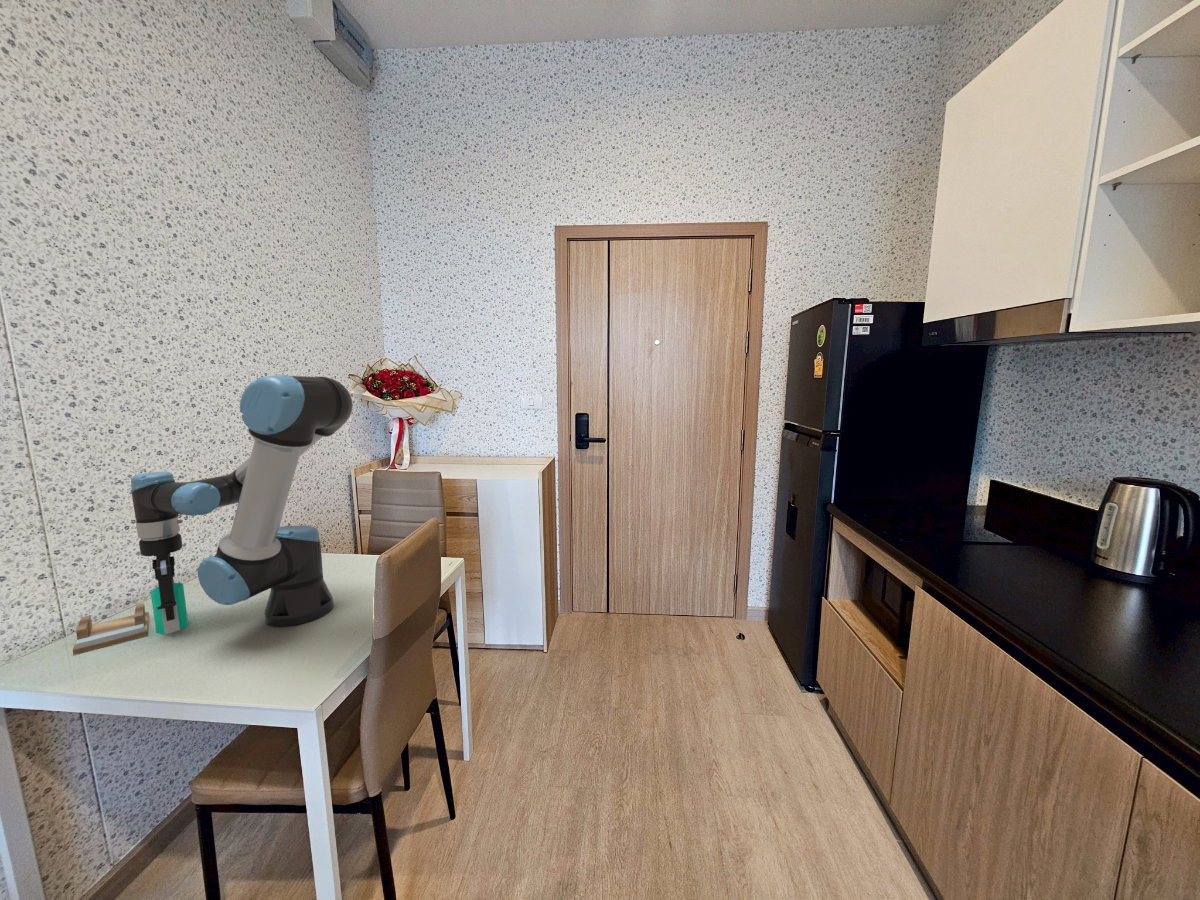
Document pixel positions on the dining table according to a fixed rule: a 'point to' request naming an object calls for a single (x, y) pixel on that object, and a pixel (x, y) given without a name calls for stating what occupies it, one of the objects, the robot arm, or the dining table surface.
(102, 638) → the wing slat
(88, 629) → the jig
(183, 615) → the candle
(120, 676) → the dining table surface
